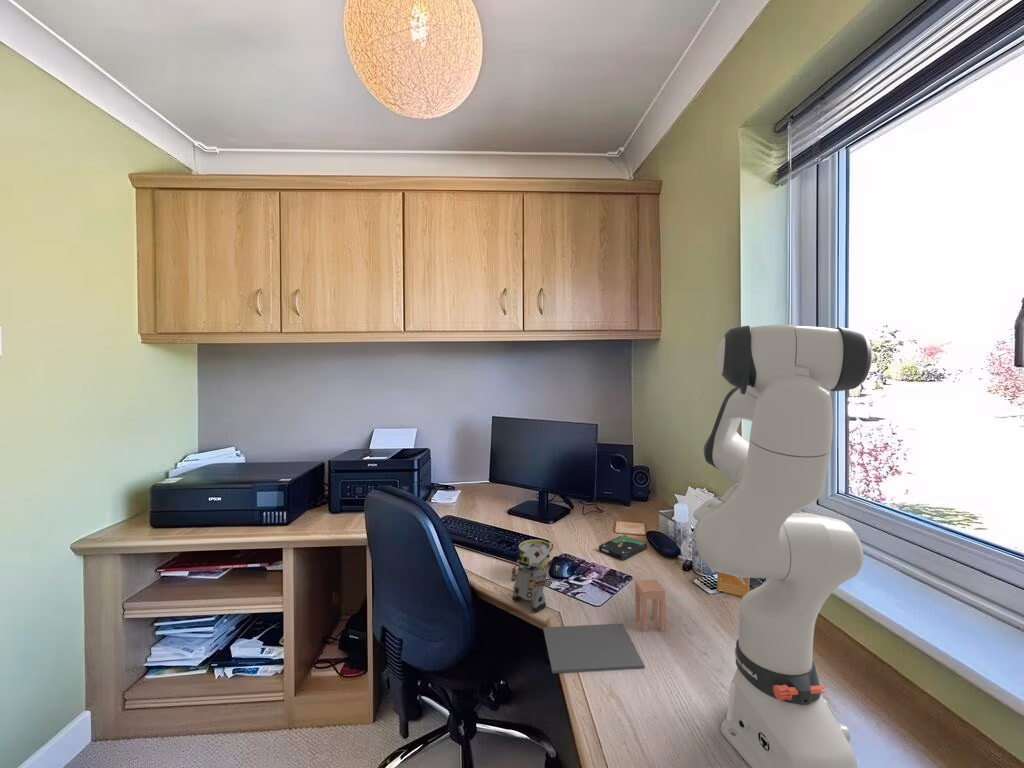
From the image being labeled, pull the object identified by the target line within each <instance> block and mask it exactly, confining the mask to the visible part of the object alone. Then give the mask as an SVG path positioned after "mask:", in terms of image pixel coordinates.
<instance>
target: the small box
mask: <svg viewBox="0 0 1024 768" xmlns="http://www.w3.org/2000/svg"><path fill="white" fill-rule="evenodd" d="M716 582H717V584H716V586H717V590H721V591H722V592H721V593H725V594H730V595H735V596H739V597H742V598H743V597H744V595H745V594H746V593H748V592H749V591H750V578H746V577H737V576H733V575H729V574H725V573H721V572H717V581H716ZM717 590H716V591H717Z"/></svg>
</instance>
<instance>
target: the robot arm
mask: <svg viewBox="0 0 1024 768" xmlns="http://www.w3.org/2000/svg"><path fill="white" fill-rule="evenodd" d="M716 359H717V363H718V364H717V365H718V368H719V370H720V372H721V376H722V377H723V378H724V379H725V380H726V381H727V383H729V385H731V386H733V387H734V388H732V389H730V391H729V392H728V393H727V394H726V395H725V397H724V399H723V401H722V403H721V406H720V408H719V411H718V414H717V416H716V419H715V422H714V425H713V427H712V430H711V432H710V434H709V436H708V438H707V440H706V441H705V443H704V446H703V455H704V459H705V461H706V463H708V464H709V465H710V466H712V467H713V468H716V469H717V470H719V471H721V472H722V473H724V474H725V475H727V476H728V477H729V478H730V479H732V480H733V481H734V482H736V483H735V484H733V485H732V486H731V487H730V488H729V489H728V490H727V491H726V492H725V493H724V494H723V496H720V495H718V496H713V497H712V498H709V499H707V500H706V501H704V502H703V503H702V504H701V505H700V506H699V507H697V509H696V510H694V511H693V514H692V517H693V518H694V519H695V520H696V523H695V526H694V529H693V531H692V532H691V533H690V534H689V537H690V538H691V539H692V540H693V541H695V546H696V549H697V552H698V555H699V556H700V558H701V559H702V561H703V562H704V564H705V565H706V566H707V567H708V568H709V569H710V570H712V571H713V572H717V573H718V572H721V573H725V574H729V575H733V576H737V577H746V578H749V579H750V578H752V579H766V581H764V582H763V583H762V584H761V585H759V586H758V587H755V588H753V589H752V590H749V592H748V593H746V594H745V595H744V597H742V598H741V600H740V602H739V605H738V638H737V640H736V642H735V643H736V644H735V649H734V656H735V664H736V671H735V674H734V676H733V678H732V680H731V683H730V686H729V690H728V692H729V693H728V702H727V709H726V710H727V711H726V718H724V719H723V721H722V722H721V726H720V732H721V734H722V735H723V736H724V738H725V739H726V740H727V741H728V743H730V744H731V746H732V747H733V748H734V749H735V750H736V752H737V753H738V754H739V755H740V756H741V757H742V758H743V759H744V761H745V762H746V763H747V764H748V765H749V766H750V767H751V768H858V765H857V760H856V759H857V758H856V754H855V753H854V752H855V751H854V750H853V748H852V746H851V744H850V742H851V734H850V731H849V729H848V727H847V726H846V725H845V724H843V723H838V722H837V720H836V718H835V716H834V715H833V712H832V711H831V709H830V707H829V703H828V701H827V700H826V699H824V697H823V695H822V694H824V693H826V690H823V689H825V688H826V685H825V684H820V680H819V674H818V670H817V668H816V665H815V662H814V660H813V653H814V652H813V651H814V650H813V649H814V647H813V646H814V634H815V625H816V622H817V618H818V615H819V613H820V611H821V608H822V607H823V606H824V604H825V602H826V601H827V599H828V598H829V597H830V595H831V594H832V593H833V592H834V591H835V590H836V589H837V588H838V587H839V586H841V585H842V584H844V583H845V582H846V581H849V580H850V579H853V578H854V577H856V576H857V575H858V574H859V572H860V570H861V568H862V566H863V563H864V547H863V546H862V542H861V540H860V538H859V536H858V534H857V533H856V532H855V531H854V530H853V528H852V527H851V526H850V525H849V524H848V523H846V522H845V521H843V520H841V519H838V518H833V517H829V516H825V515H821V514H815V513H806V512H805V513H804V512H798V511H799V510H803V509H804V508H807V507H809V506H810V505H812V504H814V503H815V502H817V501H818V500H819V498H820V497H822V495H823V493H824V491H825V487H826V481H827V473H828V468H829V461H830V454H831V449H832V444H833V443H832V442H833V430H834V427H833V426H834V417H833V415H834V413H833V402H832V401H833V400H832V395H831V392H841V391H849V390H850V391H851V390H854V389H856V388H858V387H859V386H860V385H861V384H863V383H864V382H865V380H866V379H867V378H868V375H869V372H870V370H871V366H872V363H873V353H872V347H871V342H870V340H869V339H868V337H866V335H865V334H864V333H863V332H862V331H860V330H857V329H852V328H847V327H839V326H838V327H836V328H830V327H822V326H821V327H820V326H810V325H793V324H771V325H770V324H769V325H759V326H757V325H756V326H750V325H742V326H738V327H737V326H736V327H732V328H730V329H728V330H727V331H726V333H725V334H724V336H723V338H722V339H721V342H720V343H719V346H718V350H717V356H716ZM742 420H746V421H750V422H751V427H750V433H749V441H747V440H746V439H744V438H743V437H742V436H741V435H740V434H739V433H738V428H739V426H740V424H741V421H742Z"/></svg>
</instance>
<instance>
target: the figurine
mask: <svg viewBox="0 0 1024 768" xmlns="http://www.w3.org/2000/svg"><path fill="white" fill-rule="evenodd" d="M530 547H531V548H530V549H529V550H527V551H526V552H525V553H524V554H523V555H522V556H521V557H520V556H519V558H518V559H517V560H516V561H517V564H518V565H514V567H513V568H512V570H511V579H510V580H511V582H514V584H513V585H514V586H513V589H512V590H513V592H512V598H511V599H512V600H511V601H514V602H516V603H517V602H518V601H520V599H524V600H527V601H532V607H531V611H532V612H534V613H536V614H537V613H538V612H540V610H543V609H545V608H546V606H547V604H546V600H545V598H546V597H545V593H544V587H545V588H547V587H548V588H551V585H552V577H549V578H550V579H549V580H548V581H546V578H547V572H546V573H545V572H544V571H543V570H540V566H541V563H542V562H543V561H544V560H545V559H546V558H547V557H549V559H550V558H551V556H549V554H550V555H551V553H550V552H549V551H548V549H547V548H546V547H545V545H544V544H541V543H536V544H534V543H533V544H532V545H531V546H530ZM522 566H524V567H522ZM516 567H517V571H516ZM516 572H517V573H516Z"/></svg>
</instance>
